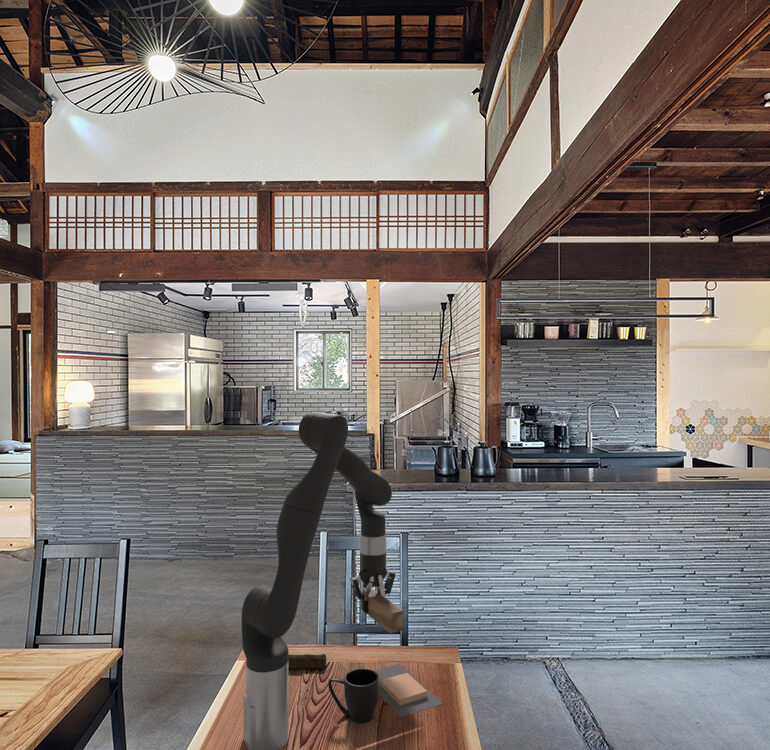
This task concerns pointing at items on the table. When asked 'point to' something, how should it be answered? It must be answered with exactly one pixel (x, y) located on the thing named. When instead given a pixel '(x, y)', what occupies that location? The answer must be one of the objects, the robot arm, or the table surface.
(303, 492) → the robot arm
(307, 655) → the hand tool
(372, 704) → the mug
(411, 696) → the tile
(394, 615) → the tan wooden bar
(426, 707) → the rubber mat
